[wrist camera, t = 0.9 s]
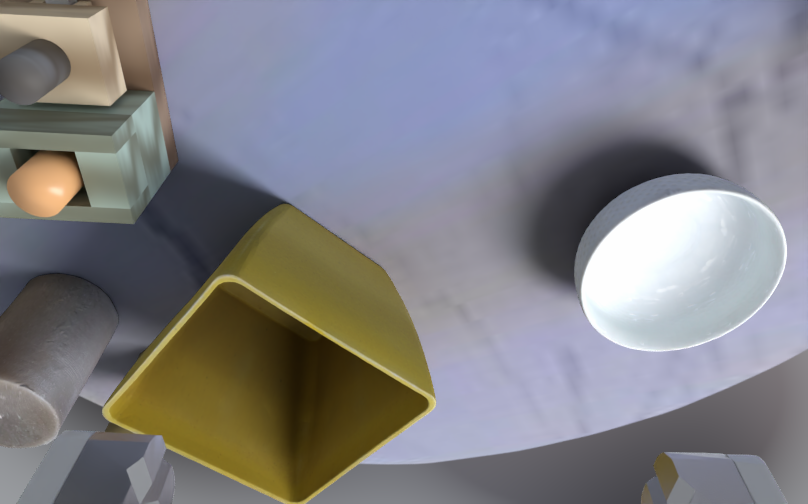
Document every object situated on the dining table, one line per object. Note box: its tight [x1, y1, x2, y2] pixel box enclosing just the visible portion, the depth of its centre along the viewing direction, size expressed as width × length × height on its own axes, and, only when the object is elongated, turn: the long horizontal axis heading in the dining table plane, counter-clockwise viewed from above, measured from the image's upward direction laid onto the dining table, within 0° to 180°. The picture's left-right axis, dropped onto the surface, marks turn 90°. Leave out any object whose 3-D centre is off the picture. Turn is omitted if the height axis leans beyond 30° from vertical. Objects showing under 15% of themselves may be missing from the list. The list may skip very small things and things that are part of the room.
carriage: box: [0, 0, 127, 106], centre depth 41 cm, size 6×7×8 cm
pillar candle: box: [0, 274, 119, 448], centre depth 57 cm, size 10×10×15 cm
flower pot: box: [102, 204, 436, 504], centre depth 53 cm, size 19×19×17 cm
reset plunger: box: [7, 150, 85, 217], centre depth 42 cm, size 4×4×4 cm
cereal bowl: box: [574, 173, 787, 351], centre depth 53 cm, size 17×17×7 cm
